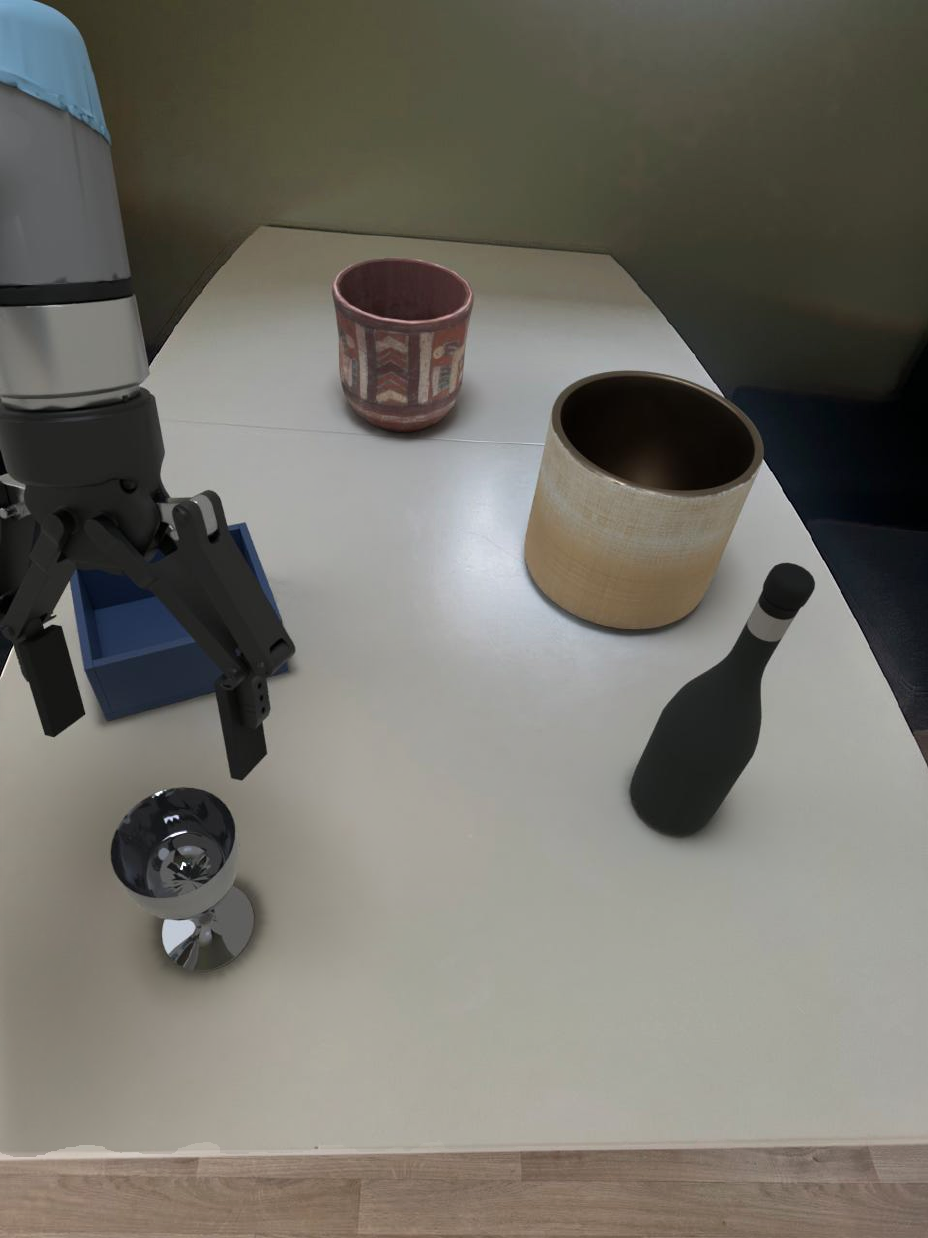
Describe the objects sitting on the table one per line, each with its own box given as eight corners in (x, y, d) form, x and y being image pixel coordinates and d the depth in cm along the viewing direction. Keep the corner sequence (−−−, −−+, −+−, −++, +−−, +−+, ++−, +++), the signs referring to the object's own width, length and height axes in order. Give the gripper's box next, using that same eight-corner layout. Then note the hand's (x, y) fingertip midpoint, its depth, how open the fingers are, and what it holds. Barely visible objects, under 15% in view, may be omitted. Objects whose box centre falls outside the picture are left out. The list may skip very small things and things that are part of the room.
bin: (106, 721, 76) (83, 669, 70) (87, 613, 84) (65, 558, 78) (288, 671, 81) (282, 619, 76) (253, 575, 90) (245, 521, 84)
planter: (743, 598, 94) (813, 461, 79) (594, 664, 86) (641, 523, 71) (627, 489, 106) (669, 351, 91) (487, 537, 97) (508, 394, 83)
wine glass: (166, 993, 60) (120, 918, 49) (148, 898, 65) (101, 809, 54) (270, 953, 63) (248, 872, 52) (245, 864, 68) (220, 772, 56)
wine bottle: (638, 751, 79) (743, 521, 56) (718, 780, 77) (857, 556, 55) (619, 819, 73) (725, 596, 51) (703, 852, 72) (851, 637, 50)
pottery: (353, 454, 106) (351, 328, 93) (325, 382, 117) (319, 259, 103) (478, 438, 111) (493, 315, 97) (440, 370, 122) (448, 251, 108)
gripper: (334, 390, 39) (364, 747, 48) (-52, 367, 46) (41, 681, 56) (248, 426, 32) (302, 828, 42) (-182, 392, 40) (-52, 741, 50)
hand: (154, 745), depth 49 cm, fingers open, 13 cm apart
